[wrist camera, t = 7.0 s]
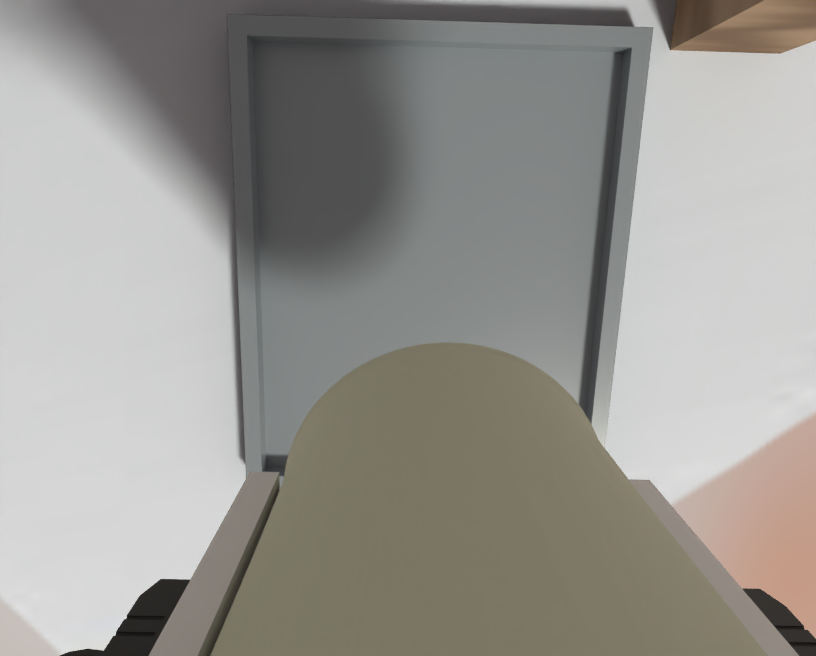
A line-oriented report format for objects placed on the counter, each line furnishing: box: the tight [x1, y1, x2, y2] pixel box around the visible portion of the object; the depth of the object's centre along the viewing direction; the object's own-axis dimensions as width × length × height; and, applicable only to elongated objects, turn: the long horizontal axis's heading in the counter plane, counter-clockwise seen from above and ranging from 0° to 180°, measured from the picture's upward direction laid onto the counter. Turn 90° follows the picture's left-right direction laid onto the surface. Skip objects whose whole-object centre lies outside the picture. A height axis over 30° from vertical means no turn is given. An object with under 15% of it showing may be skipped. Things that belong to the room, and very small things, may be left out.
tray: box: [227, 14, 653, 488], centre depth 27 cm, size 18×22×2 cm
